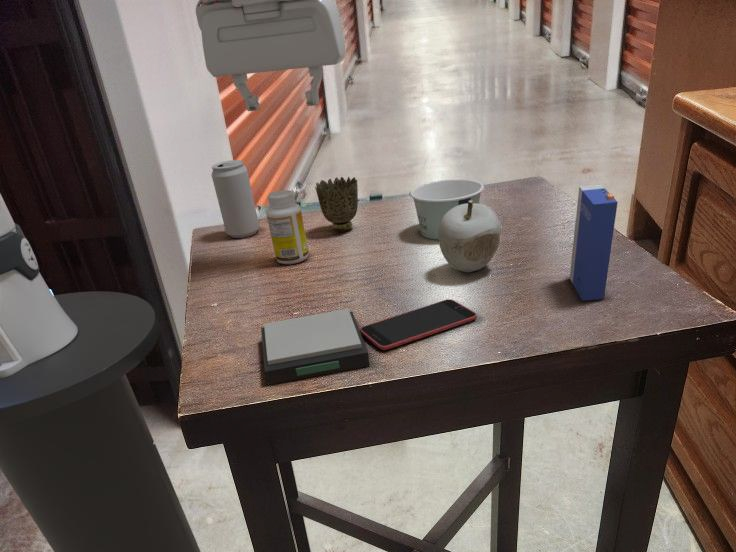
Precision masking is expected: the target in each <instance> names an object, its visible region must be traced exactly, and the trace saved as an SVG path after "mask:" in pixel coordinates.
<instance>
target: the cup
mask: <svg viewBox="0 0 736 552" xmlns="http://www.w3.org/2000/svg"><path fill="white" fill-rule="evenodd" d="M358 186H359V185H358V179H357V178H356V176H353V177H352V178H350V176H348V177H347V179H345V178H344V177H343V176H341V177H340V178H339V177H335V178H334V180H333V181H332V179H331V178H329V179H328V181H326V180H324V179H322V180H320V182H316V183H315V186H314V188H315V192H316V195H317V199H318V203H319V207H320V210H321V213H322V215H323V217H324V219H326V220H327V222H329V223H331V224H332V225H331V228H332V230H333V231H334V232H336V233H345V232H348V231H350V230H351V229H352V227H353V222H352V220H354V218H355V217H356V215H357V212H358V206H359V195H358V194H359V192H358Z"/></svg>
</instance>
